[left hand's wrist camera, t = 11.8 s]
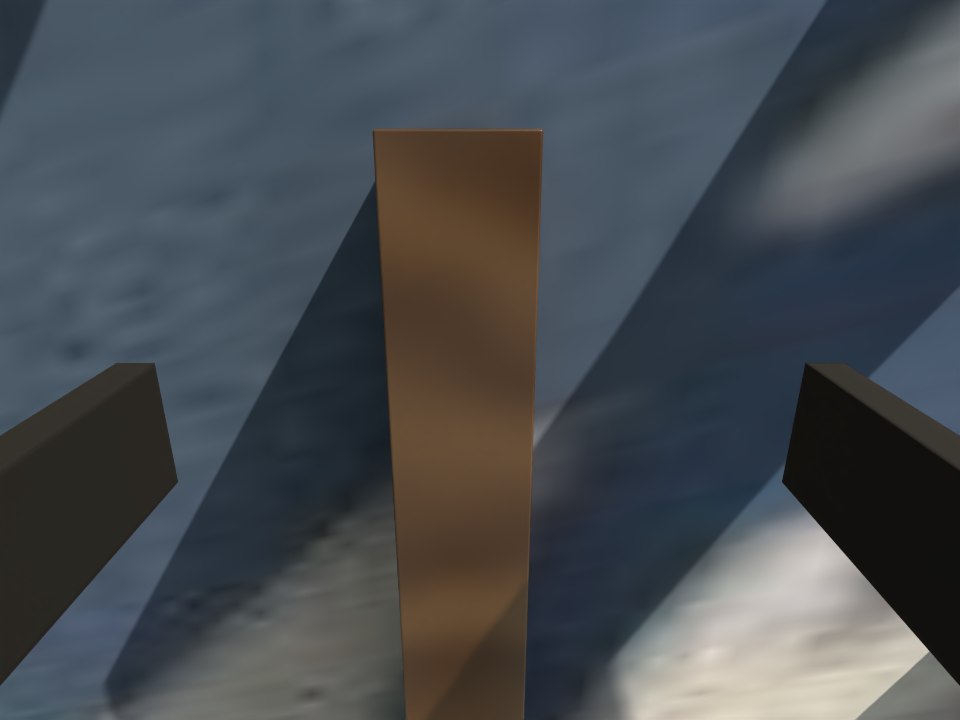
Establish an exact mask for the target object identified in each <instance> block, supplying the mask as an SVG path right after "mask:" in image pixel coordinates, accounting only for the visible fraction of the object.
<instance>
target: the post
mask: <svg viewBox="0 0 960 720" xmlns="http://www.w3.org/2000/svg"><path fill="white" fill-rule="evenodd" d="M373 146H374V164H375V182H376V199H377V217H378V235H379V252H380V270H381V287H382V305H383V323H384V340H385V358H386V375H387V393H388V411H389V428H390V446H391V464H392V481H393V499H394V516H395V534H396V552H397V569H398V587H399V604H400V622H401V640H402V657H403V675H404V693H405V710H406V720H524V701H525V670H526V640H527V609H528V579H529V548H530V517H531V487H532V456H533V426H534V395H535V365H536V334H537V303H538V273H539V242H540V212H541V181H542V150H543V130H542V129H374V130H373Z"/></svg>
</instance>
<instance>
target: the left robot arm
mask: <svg viewBox="0 0 960 720" xmlns="http://www.w3.org/2000/svg"><path fill="white" fill-rule="evenodd" d="M177 483H178V480H177V475H176V470H175V464H174V459H173V454H172V449H171V444H170V439H169V434H168V429H167V424H166V419H165V414H164V409H163V404H162V399H161V394H160V389H159V383H158V378H157V373H156V368H155V363H116V364H114V365H113V366H111V367H110V368H108V369H106V370H105V371H103V372H102V373H100V374H98V375H97V376H95V377H94V378H92V379H90V380H89V381H87V382H86V383H84V384H82V385H81V386H79V387H78V388H76V389H74V390H73V391H71V392H70V393H68V394H66V395H65V396H63V397H62V398H60V399H58V400H57V401H55V402H54V403H52V404H50V405H49V406H47V407H46V408H44V409H42V410H41V411H39V412H38V413H36V414H34V415H33V416H31V417H30V418H28V419H26V420H25V421H23V422H22V423H20V424H18V425H17V426H15V427H14V428H12V429H10V430H9V431H7V432H6V433H4V434H2V435H1V436H0V685H1V684H2V683H3V682H4V681H5V680H6V678H7V677H8V676H9V675H10V674H11V673H12V672H13V670H14V669H15V668H16V667H17V666H18V665H19V664H20V662H21V661H22V660H23V659H24V658H25V657H26V656H27V654H28V653H29V652H30V651H31V650H32V649H33V648H34V646H35V645H36V644H37V643H38V642H39V641H40V640H41V638H42V637H43V636H44V635H45V634H46V633H47V631H48V630H49V629H50V628H51V627H52V626H53V625H54V623H55V622H56V621H57V620H58V619H59V618H60V617H61V615H62V614H63V613H64V612H65V611H66V610H67V609H68V607H69V606H70V605H71V604H72V603H73V602H74V601H75V599H76V598H77V597H78V596H79V595H80V594H81V593H82V591H83V590H84V589H85V588H86V587H87V586H88V585H89V583H90V582H91V581H92V580H93V579H94V578H95V576H96V575H97V574H98V573H99V572H100V571H101V570H102V568H103V567H104V566H105V565H106V564H107V563H108V562H109V560H110V559H111V558H112V557H113V556H114V555H115V554H116V552H117V551H118V550H119V549H120V548H121V547H122V546H123V544H124V543H125V542H126V541H127V540H128V539H129V538H130V536H131V535H132V534H133V533H134V532H135V531H136V529H137V528H138V527H139V526H140V525H141V524H142V523H143V521H144V520H145V519H146V518H147V517H148V516H149V515H150V513H151V512H152V511H153V510H154V509H155V508H156V507H157V505H158V504H159V503H160V502H161V501H162V500H163V499H164V497H165V496H166V495H167V494H168V493H169V492H170V491H171V489H172V488H173V487H174V486H175V485H176V484H177ZM782 483H783V484H784V485H785V486H786V487H787V488H788V489H789V491H790V492H791V493H792V494H793V495H794V496H795V497H796V499H797V500H798V501H799V502H800V503H801V504H802V505H803V507H804V508H805V509H806V510H807V511H808V512H809V513H810V515H811V516H812V517H813V518H814V519H815V520H816V521H817V523H818V524H819V525H820V526H821V527H822V528H823V529H824V531H825V532H826V533H827V534H828V535H829V536H830V538H831V539H832V540H833V541H834V542H835V543H836V544H837V546H838V547H839V548H840V549H841V550H842V551H843V552H844V554H845V555H846V556H847V557H848V558H849V559H850V560H851V562H852V563H853V564H854V565H855V566H856V567H857V568H858V570H859V571H860V572H861V573H862V574H863V575H864V576H865V578H866V579H867V580H868V581H869V582H870V583H871V584H872V586H873V587H874V588H875V589H876V590H877V591H878V593H879V594H880V595H881V596H882V597H883V598H884V599H885V601H886V602H887V603H888V604H889V605H890V606H891V607H892V609H893V610H894V611H895V612H896V613H897V614H898V615H899V617H900V618H901V619H902V620H903V621H904V622H905V623H906V625H907V626H908V627H909V628H910V629H911V630H912V631H913V633H914V634H915V635H916V636H917V637H918V638H919V640H920V641H921V642H922V643H923V644H924V645H925V646H926V648H927V649H928V650H929V651H930V652H931V653H932V654H933V656H934V657H935V658H936V659H937V660H938V661H939V662H940V664H941V665H942V666H943V667H944V668H945V669H946V670H947V672H948V673H949V674H950V675H951V676H952V677H953V678H954V680H955V681H956V682H957V683H958V684H959V685H960V436H959V435H958V434H956V433H954V432H953V431H951V430H950V429H948V428H946V427H945V426H943V425H942V424H940V423H938V422H937V421H935V420H934V419H932V418H930V417H929V416H927V415H926V414H924V413H922V412H921V411H919V410H918V409H916V408H914V407H913V406H911V405H910V404H908V403H906V402H905V401H903V400H902V399H900V398H898V397H897V396H895V395H894V394H892V393H890V392H889V391H887V390H886V389H884V388H882V387H881V386H879V385H878V384H876V383H874V382H873V381H871V380H870V379H868V378H866V377H865V376H863V375H862V374H860V373H858V372H857V371H855V370H854V369H852V368H850V367H849V366H847V365H846V364H844V363H805V368H804V373H803V378H802V383H801V389H800V394H799V399H798V404H797V409H796V414H795V419H794V424H793V429H792V434H791V439H790V444H789V449H788V454H787V459H786V464H785V470H784V475H783V480H782Z"/></svg>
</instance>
